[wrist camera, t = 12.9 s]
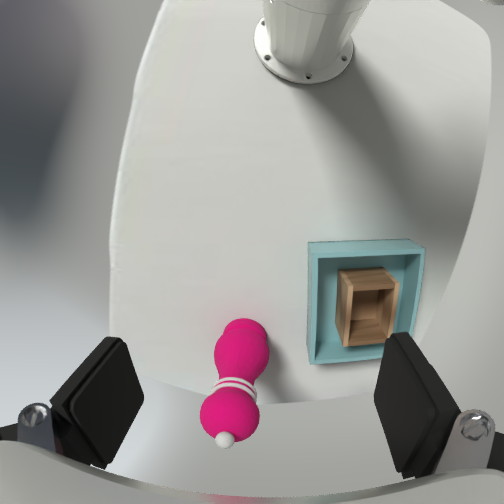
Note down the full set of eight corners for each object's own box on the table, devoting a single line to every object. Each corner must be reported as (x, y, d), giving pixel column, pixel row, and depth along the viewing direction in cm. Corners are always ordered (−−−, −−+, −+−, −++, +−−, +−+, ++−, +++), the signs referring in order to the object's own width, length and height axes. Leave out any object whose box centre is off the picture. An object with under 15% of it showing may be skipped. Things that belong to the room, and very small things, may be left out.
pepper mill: (279, 328, 40) (278, 441, 21) (255, 363, 42) (241, 472, 23) (233, 306, 40) (201, 411, 21) (212, 343, 42) (175, 448, 23)
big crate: (307, 242, 37) (312, 252, 32) (408, 238, 35) (425, 248, 31) (306, 344, 41) (309, 364, 36) (396, 336, 39) (407, 354, 35)
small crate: (337, 268, 37) (348, 286, 31) (383, 266, 36) (399, 283, 30) (334, 323, 39) (342, 346, 33) (377, 319, 38) (390, 341, 32)
